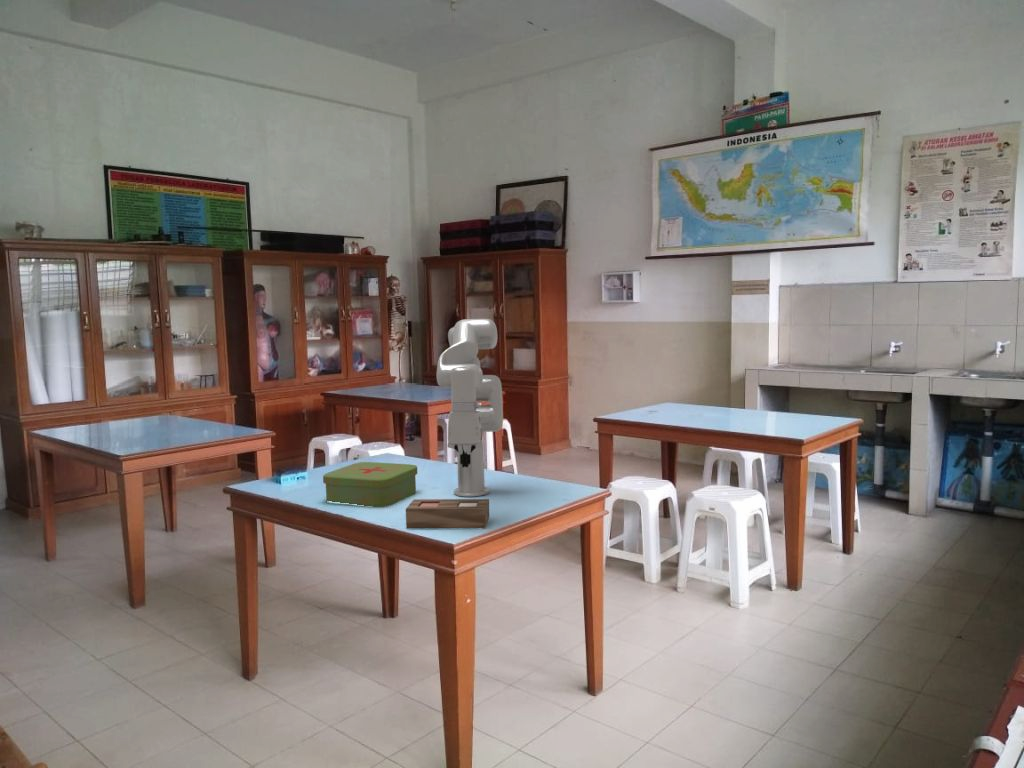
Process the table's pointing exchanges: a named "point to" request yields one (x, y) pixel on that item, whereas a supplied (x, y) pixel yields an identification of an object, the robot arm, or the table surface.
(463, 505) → the key ivory
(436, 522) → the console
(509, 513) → the table surface
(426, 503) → the key red
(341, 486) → the first aid kit
